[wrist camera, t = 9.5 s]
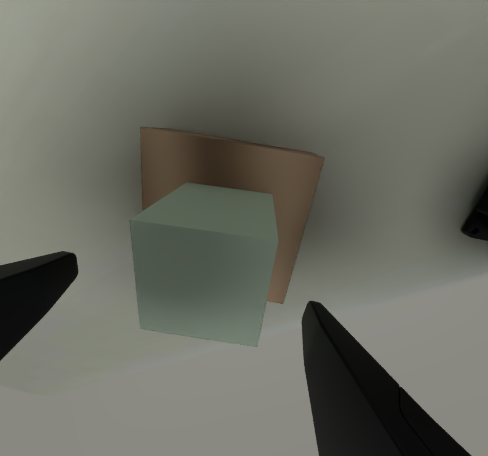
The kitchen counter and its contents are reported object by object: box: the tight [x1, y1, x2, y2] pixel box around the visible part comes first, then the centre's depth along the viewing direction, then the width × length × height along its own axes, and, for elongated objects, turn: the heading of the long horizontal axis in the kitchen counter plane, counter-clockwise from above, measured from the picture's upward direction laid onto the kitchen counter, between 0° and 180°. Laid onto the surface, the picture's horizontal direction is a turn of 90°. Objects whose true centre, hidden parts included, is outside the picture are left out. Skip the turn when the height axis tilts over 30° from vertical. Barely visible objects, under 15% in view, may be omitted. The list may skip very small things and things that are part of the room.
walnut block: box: [140, 127, 324, 304], centre depth 16 cm, size 10×10×4 cm
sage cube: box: [130, 182, 279, 347], centre depth 11 cm, size 5×5×6 cm
